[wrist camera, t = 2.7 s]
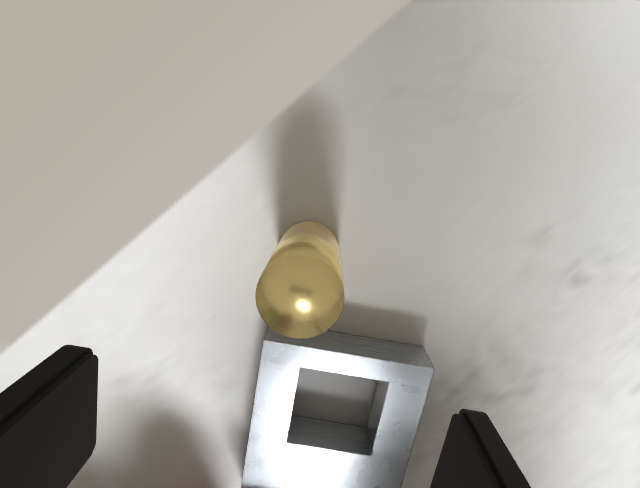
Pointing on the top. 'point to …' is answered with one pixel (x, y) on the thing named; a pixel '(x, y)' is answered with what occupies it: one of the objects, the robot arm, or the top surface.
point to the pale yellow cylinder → (302, 282)
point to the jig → (331, 437)
